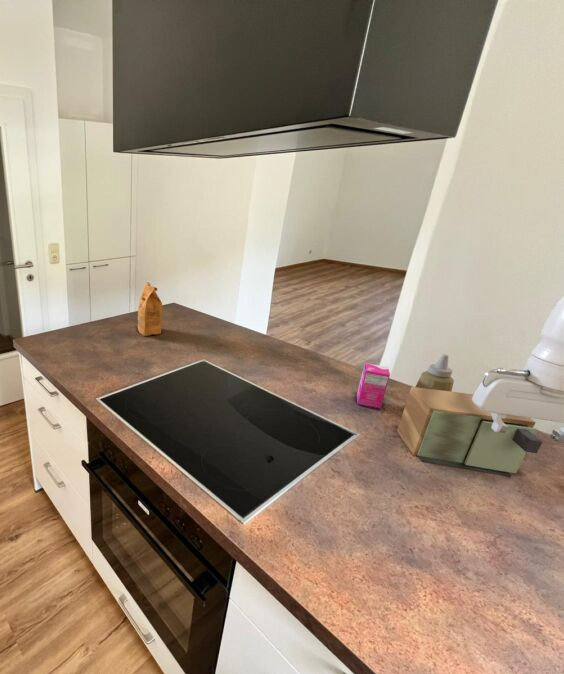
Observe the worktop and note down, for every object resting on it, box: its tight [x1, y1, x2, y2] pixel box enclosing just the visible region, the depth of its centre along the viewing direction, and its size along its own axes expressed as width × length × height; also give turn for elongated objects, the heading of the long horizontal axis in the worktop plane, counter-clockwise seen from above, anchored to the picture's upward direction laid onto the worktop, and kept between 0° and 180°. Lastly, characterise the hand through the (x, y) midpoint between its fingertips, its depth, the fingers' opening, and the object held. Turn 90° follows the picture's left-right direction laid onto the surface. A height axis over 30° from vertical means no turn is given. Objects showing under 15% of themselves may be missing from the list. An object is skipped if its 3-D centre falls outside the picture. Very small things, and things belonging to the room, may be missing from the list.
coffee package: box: [137, 281, 163, 337], centre depth 159 cm, size 10×12×22 cm
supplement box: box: [356, 362, 391, 411], centre depth 103 cm, size 6×6×12 cm
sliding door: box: [464, 421, 543, 474], centre depth 75 cm, size 9×5×11 cm, turn 72°
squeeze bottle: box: [414, 353, 455, 392], centre depth 96 cm, size 8×8×18 cm
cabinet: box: [396, 386, 537, 478], centre depth 83 cm, size 18×12×13 cm, turn 72°
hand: (527, 435), depth 72 cm, fingers open, 8 cm apart
